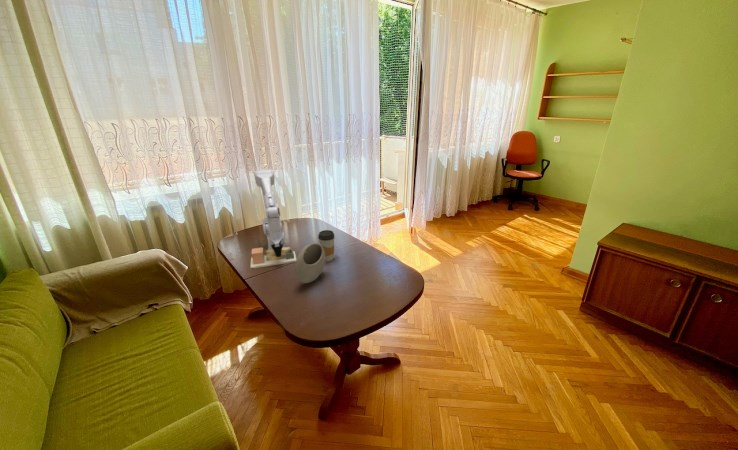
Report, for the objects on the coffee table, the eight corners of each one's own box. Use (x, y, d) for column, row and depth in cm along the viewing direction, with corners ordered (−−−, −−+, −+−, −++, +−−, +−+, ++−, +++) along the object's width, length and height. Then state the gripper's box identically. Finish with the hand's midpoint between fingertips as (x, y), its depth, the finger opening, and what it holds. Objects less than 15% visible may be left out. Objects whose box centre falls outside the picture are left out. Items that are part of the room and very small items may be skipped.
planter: (304, 293, 129) (300, 255, 122) (292, 288, 132) (287, 251, 125) (330, 273, 143) (328, 238, 136) (319, 269, 147) (317, 235, 139)
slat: (290, 254, 158) (289, 246, 156) (290, 257, 156) (289, 249, 154) (267, 258, 155) (265, 250, 153) (267, 261, 152) (265, 252, 150)
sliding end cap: (264, 257, 156) (262, 247, 153) (264, 262, 151) (262, 252, 148) (253, 259, 154) (252, 248, 152) (253, 264, 149) (251, 253, 147)
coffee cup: (338, 256, 158) (337, 231, 152) (330, 264, 151) (328, 237, 146) (325, 253, 162) (323, 228, 156) (316, 260, 155) (314, 234, 149)
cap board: (294, 252, 162) (294, 246, 161) (296, 261, 154) (295, 255, 152) (251, 259, 156) (250, 252, 155) (250, 268, 147) (249, 262, 146)
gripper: (266, 224, 154) (270, 248, 159) (266, 236, 141) (270, 260, 147) (280, 223, 156) (283, 246, 161) (282, 234, 143) (285, 258, 149)
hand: (278, 253), depth 154 cm, fingers open, 7 cm apart
